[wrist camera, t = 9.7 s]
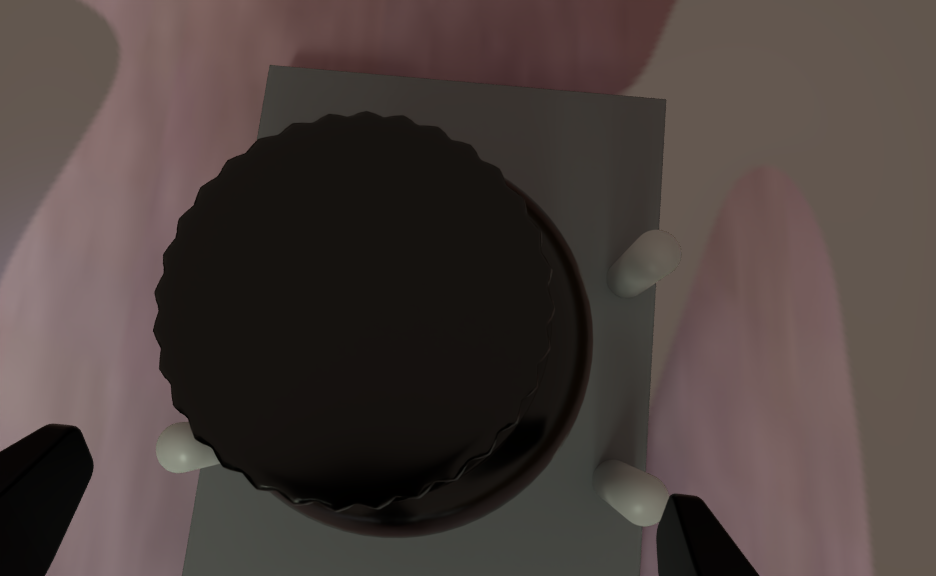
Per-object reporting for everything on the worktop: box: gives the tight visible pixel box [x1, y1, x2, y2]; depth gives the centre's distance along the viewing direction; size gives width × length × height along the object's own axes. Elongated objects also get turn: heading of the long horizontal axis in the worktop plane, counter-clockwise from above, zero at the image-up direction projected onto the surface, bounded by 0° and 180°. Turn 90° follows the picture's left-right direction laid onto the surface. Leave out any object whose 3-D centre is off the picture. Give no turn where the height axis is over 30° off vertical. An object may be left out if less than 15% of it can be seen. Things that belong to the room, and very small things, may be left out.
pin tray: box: [156, 65, 681, 576], centre depth 18 cm, size 18×13×5 cm
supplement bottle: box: [153, 111, 593, 538], centre depth 13 cm, size 7×7×12 cm
